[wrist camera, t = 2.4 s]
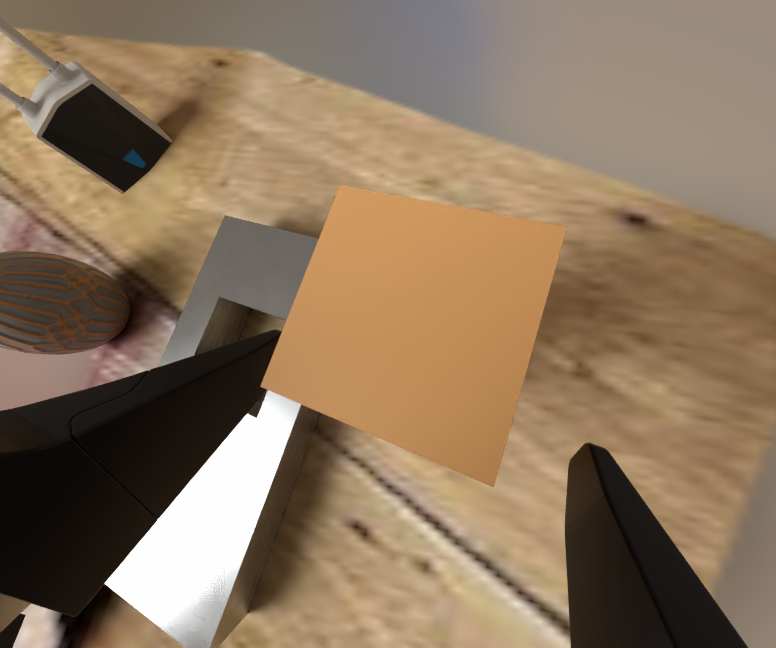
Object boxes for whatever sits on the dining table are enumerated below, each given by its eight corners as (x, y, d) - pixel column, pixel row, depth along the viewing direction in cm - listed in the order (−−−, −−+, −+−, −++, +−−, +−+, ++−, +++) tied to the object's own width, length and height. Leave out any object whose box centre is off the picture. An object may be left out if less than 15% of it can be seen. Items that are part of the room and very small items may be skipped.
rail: (247, 614, 17) (204, 662, 14) (129, 531, 19) (72, 558, 16) (373, 268, 19) (359, 248, 16) (254, 237, 22) (225, 215, 19)
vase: (133, 361, 22) (-63, 348, 14) (68, 355, 24) (-144, 340, 15) (154, 276, 23) (-13, 216, 15) (91, 276, 25) (-93, 221, 16)
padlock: (154, 122, 27) (-180, -172, 13) (175, 143, 26) (-168, -154, 12) (106, 173, 27) (-282, -63, 13) (124, 196, 26) (-281, -34, 12)
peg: (461, 407, 16) (494, 487, 4) (396, 383, 17) (260, 386, 5) (481, 341, 17) (567, 226, 4) (417, 322, 18) (340, 184, 5)
